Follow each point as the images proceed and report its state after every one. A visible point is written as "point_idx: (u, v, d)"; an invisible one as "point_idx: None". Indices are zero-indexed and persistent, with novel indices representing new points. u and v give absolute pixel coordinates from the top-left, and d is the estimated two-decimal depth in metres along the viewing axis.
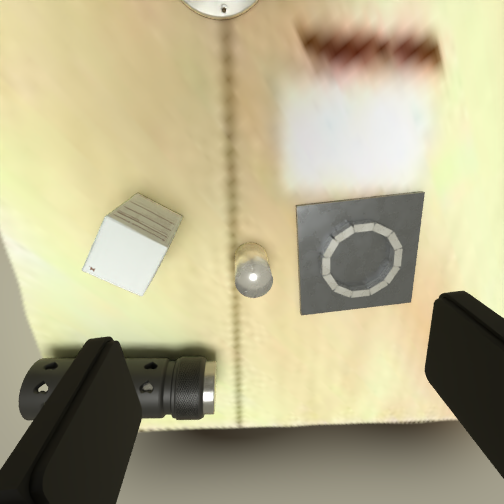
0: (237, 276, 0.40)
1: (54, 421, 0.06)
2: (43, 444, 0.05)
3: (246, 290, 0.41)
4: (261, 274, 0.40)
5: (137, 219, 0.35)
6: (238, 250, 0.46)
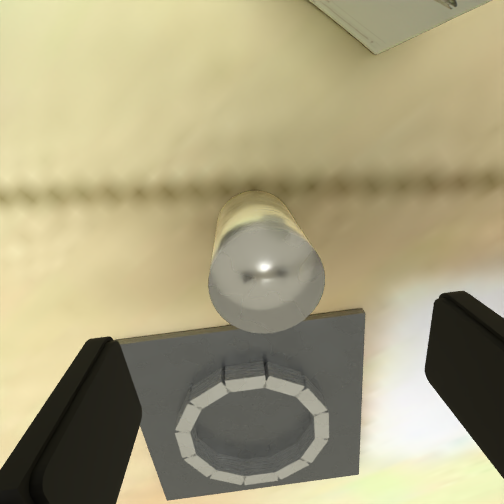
0: (287, 236, 0.12)
1: (54, 421, 0.06)
2: (43, 444, 0.05)
3: (233, 265, 0.13)
4: (289, 303, 0.14)
5: None
6: (281, 202, 0.19)
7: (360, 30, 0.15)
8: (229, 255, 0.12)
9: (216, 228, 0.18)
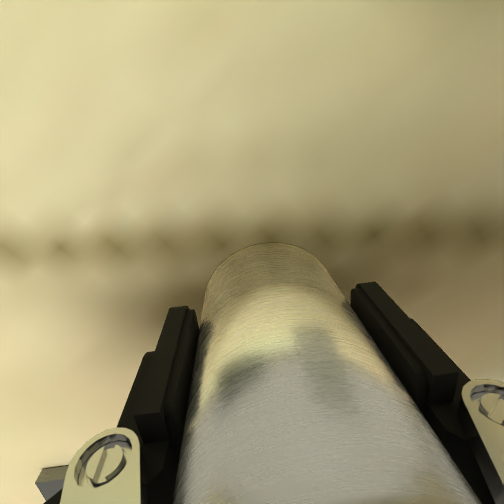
0: (417, 502, 0.04)
1: (168, 367, 0.07)
2: (166, 382, 0.06)
3: None
4: None
5: None
6: (322, 268, 0.10)
7: None
8: None
9: (200, 324, 0.09)
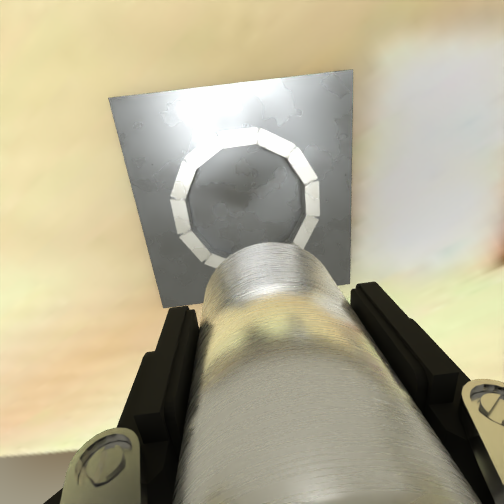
0: (417, 501, 0.04)
1: (168, 367, 0.07)
2: (166, 382, 0.06)
3: None
4: None
5: None
6: (322, 268, 0.10)
7: None
8: None
9: (200, 324, 0.09)
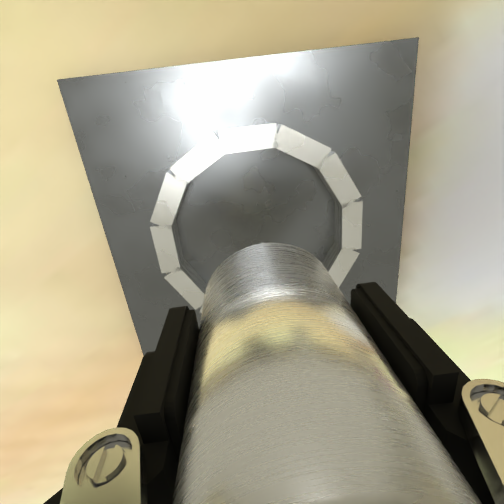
0: (417, 503, 0.04)
1: (168, 367, 0.07)
2: (166, 382, 0.06)
3: None
4: None
5: None
6: (322, 268, 0.10)
7: None
8: None
9: (200, 324, 0.09)
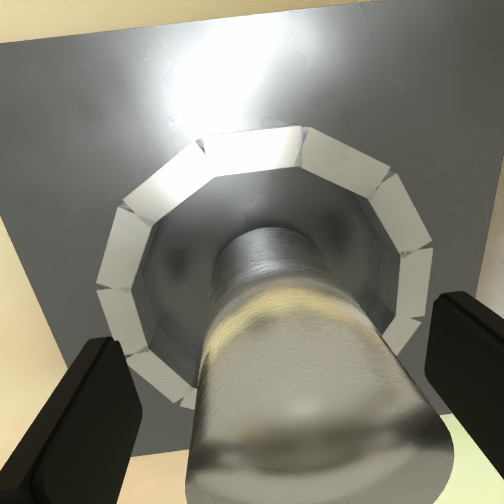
0: (379, 394, 0.05)
1: (55, 420, 0.06)
2: (44, 443, 0.05)
3: (245, 454, 0.05)
4: None
5: None
6: (317, 249, 0.12)
7: None
8: (235, 436, 0.05)
9: (209, 296, 0.11)
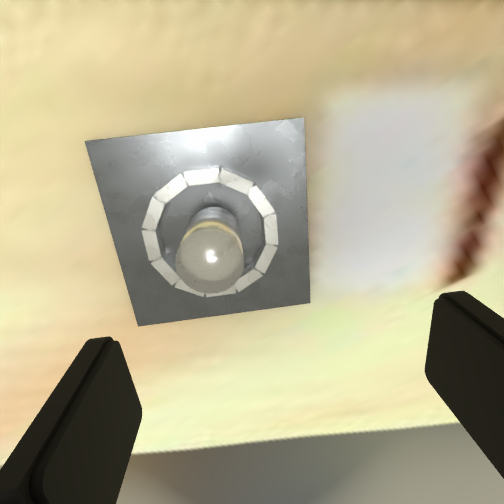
0: (220, 234, 0.22)
1: (54, 421, 0.06)
2: (43, 444, 0.05)
3: (189, 250, 0.22)
4: (223, 275, 0.23)
5: None
6: (230, 215, 0.28)
7: None
8: (187, 244, 0.22)
9: None
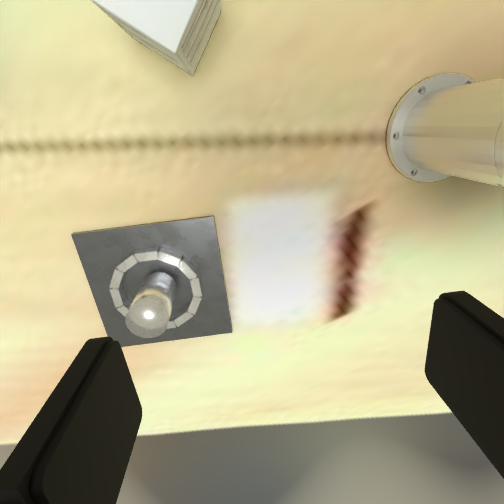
0: (152, 307, 0.36)
1: (54, 421, 0.06)
2: (43, 444, 0.05)
3: (134, 314, 0.37)
4: (155, 328, 0.38)
5: (205, 7, 0.25)
6: (169, 280, 0.43)
7: None
8: (132, 311, 0.36)
9: None
